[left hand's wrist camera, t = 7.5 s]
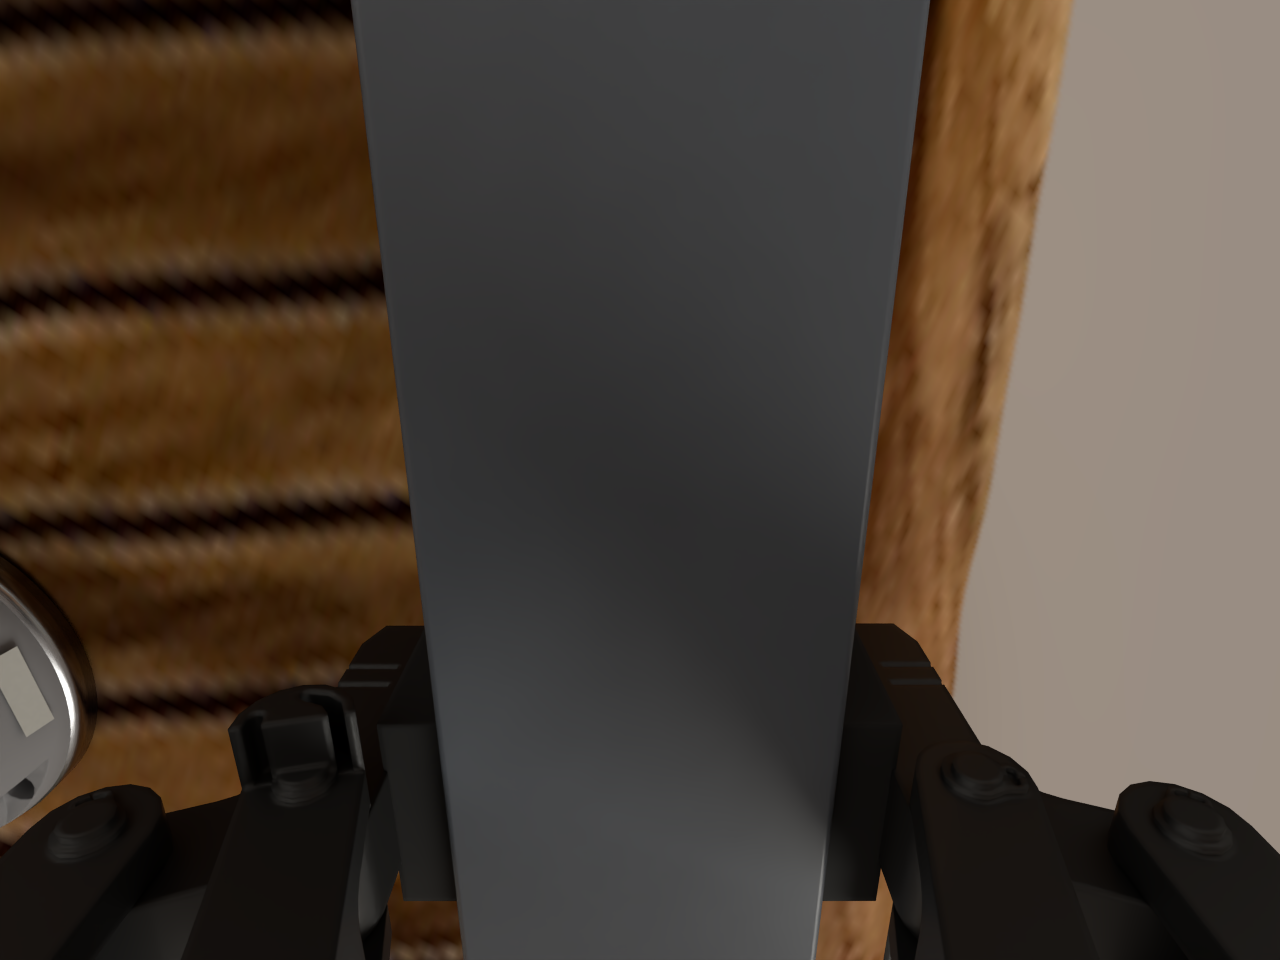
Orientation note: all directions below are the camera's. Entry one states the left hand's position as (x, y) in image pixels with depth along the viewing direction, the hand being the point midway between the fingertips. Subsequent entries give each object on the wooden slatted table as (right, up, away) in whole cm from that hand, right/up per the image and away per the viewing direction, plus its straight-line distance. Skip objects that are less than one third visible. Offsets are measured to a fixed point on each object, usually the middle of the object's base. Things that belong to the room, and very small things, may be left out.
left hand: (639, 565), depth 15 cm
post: (0, +31, -11) cm, 33 cm away
